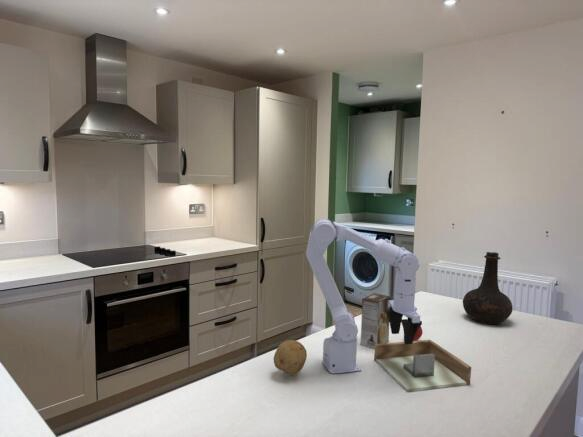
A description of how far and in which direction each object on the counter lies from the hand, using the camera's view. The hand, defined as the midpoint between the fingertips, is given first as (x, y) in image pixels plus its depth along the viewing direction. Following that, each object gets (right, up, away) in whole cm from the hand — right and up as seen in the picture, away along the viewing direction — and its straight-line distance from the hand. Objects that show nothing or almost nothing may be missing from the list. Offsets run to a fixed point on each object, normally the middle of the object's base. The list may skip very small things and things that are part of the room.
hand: (401, 338), depth 117 cm
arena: (+5, -10, -1) cm, 11 cm away
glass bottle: (+47, -7, +46) cm, 66 cm away
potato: (-33, -9, -5) cm, 34 cm away
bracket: (+4, -9, -2) cm, 10 cm away
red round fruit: (+10, -8, +22) cm, 25 cm away
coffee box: (-4, -8, +19) cm, 21 cm away
